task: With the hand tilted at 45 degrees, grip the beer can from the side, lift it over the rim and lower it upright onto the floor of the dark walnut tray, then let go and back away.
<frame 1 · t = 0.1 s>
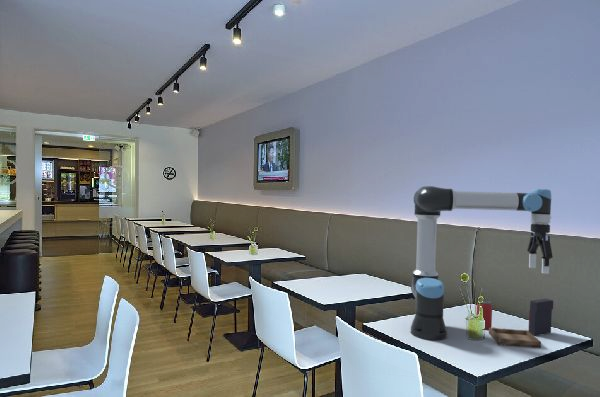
hand: (538, 270, 187), 28 cm above the table, tool pointing down, fingers open, 13 cm apart
walnut tray: (513, 340, 176), on the table
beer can: (483, 327, 192), on the table
dark grey upright block: (539, 333, 186), on the table
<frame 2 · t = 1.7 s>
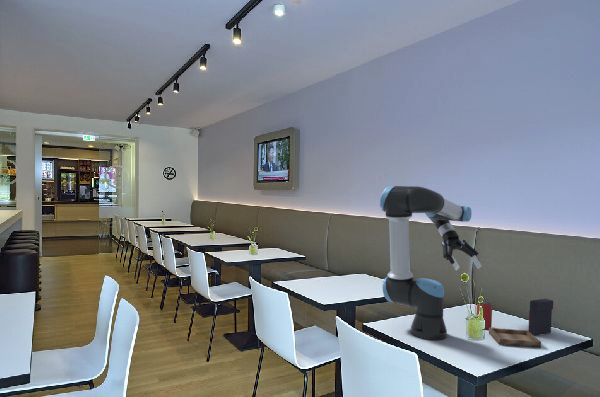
hand: (469, 268, 202), 26 cm above the table, tool tilted 45°, fingers open, 13 cm apart
nothing on the table moved.
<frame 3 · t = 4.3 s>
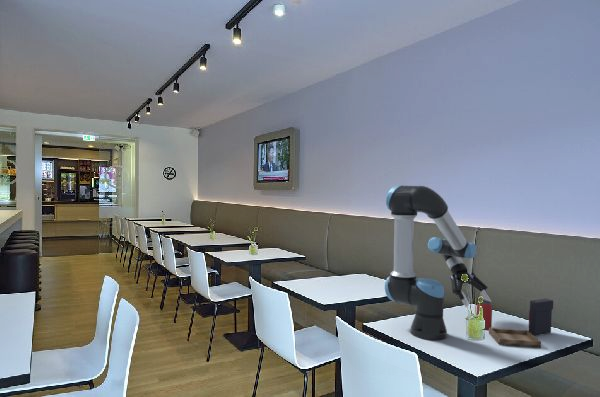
hand: (478, 304, 197), 9 cm above the table, tool tilted 45°, fingers open, 13 cm apart
nothing on the table moved.
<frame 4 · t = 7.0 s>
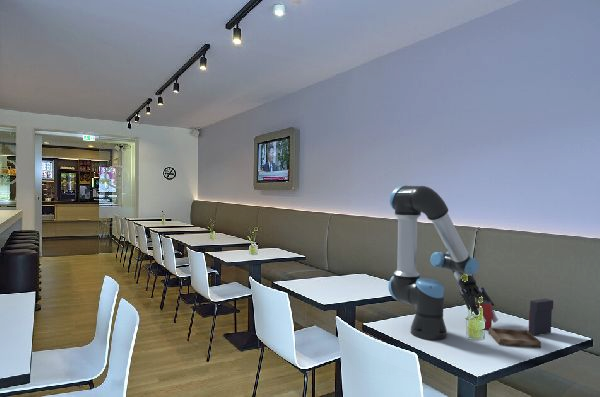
hand: (490, 321, 189), 4 cm above the table, tool tilted 45°, fingers closed on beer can, 6 cm apart
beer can: (483, 327, 192), on the table, touching gripper
everything else where it was.
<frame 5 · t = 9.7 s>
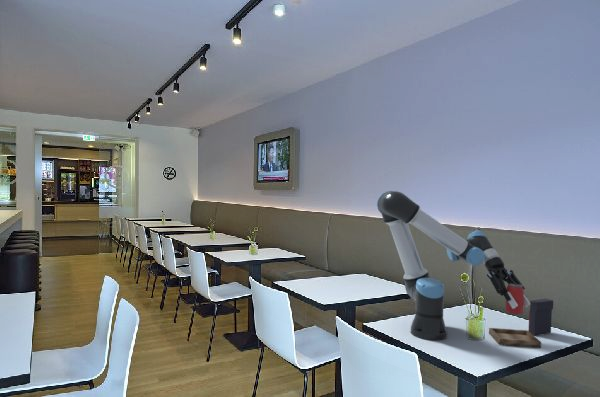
hand: (521, 306, 173), 15 cm above the table, tool tilted 45°, fingers closed on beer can, 6 cm apart
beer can: (514, 313, 177), point 11 cm above the table, touching gripper
everything else where it was.
when the fingers open (6 cm above the table, at t = 12.7 s): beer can drops 1 cm, resting on walnut tray.
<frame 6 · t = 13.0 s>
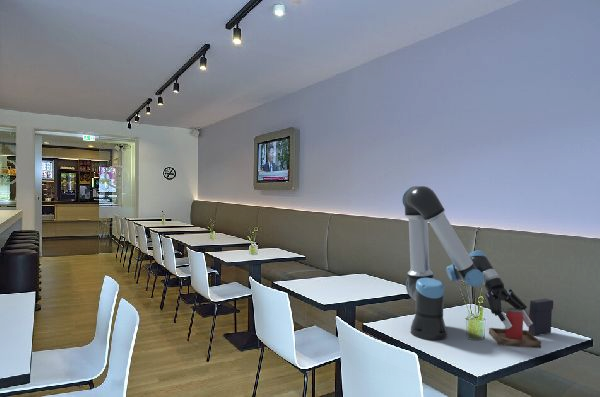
hand: (520, 326, 173), 7 cm above the table, tool tilted 45°, fingers open, 11 cm apart
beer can: (513, 338, 176), point 1 cm above the table, touching walnut tray
everything else where it was.
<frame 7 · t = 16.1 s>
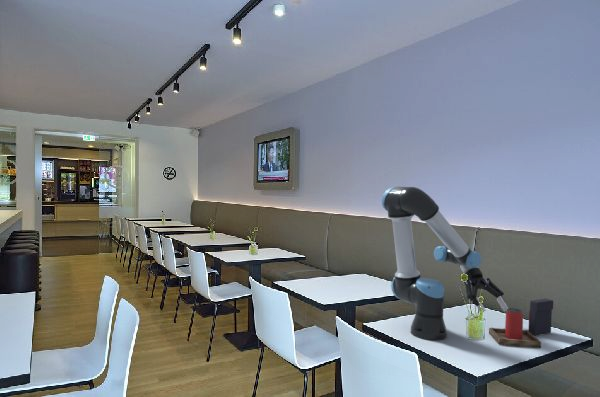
hand: (494, 311, 186), 9 cm above the table, tool tilted 45°, fingers open, 13 cm apart
nothing on the table moved.
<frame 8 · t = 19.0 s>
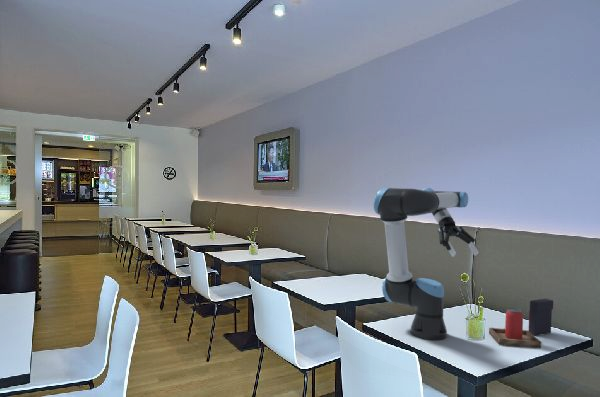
hand: (465, 254, 198), 33 cm above the table, tool tilted 45°, fingers open, 13 cm apart
nothing on the table moved.
at the end: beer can inside the target area on the walnut tray (0.1 cm from its centre), point 0.8 cm above the walnut tray's base; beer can tilted 0°; the gripper is holding nothing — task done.
